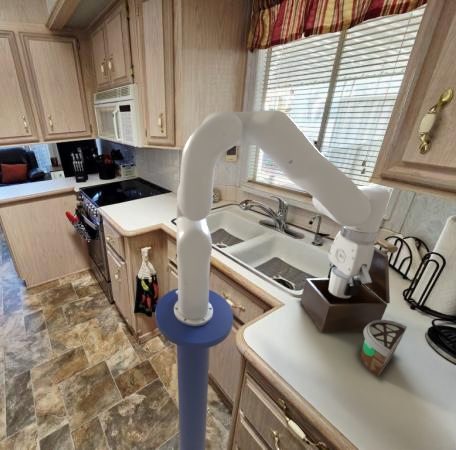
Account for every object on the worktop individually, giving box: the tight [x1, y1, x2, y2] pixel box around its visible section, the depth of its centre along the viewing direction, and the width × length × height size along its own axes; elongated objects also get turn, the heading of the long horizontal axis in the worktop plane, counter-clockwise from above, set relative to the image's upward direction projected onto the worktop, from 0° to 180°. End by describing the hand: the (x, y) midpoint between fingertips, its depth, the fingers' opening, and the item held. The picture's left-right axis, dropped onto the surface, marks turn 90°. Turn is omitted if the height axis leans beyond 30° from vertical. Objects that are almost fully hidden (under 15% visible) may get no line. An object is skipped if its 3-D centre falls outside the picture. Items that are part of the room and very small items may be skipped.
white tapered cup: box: [328, 267, 357, 298], centre depth 73 cm, size 7×7×7 cm
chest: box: [299, 277, 388, 333], centre depth 76 cm, size 16×13×10 cm
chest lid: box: [365, 237, 399, 305], centre depth 70 cm, size 16×13×6 cm
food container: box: [360, 319, 408, 377], centre depth 63 cm, size 12×6×10 cm, turn 123°
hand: (341, 286), depth 74 cm, fingers closed on white tapered cup, 6 cm apart
